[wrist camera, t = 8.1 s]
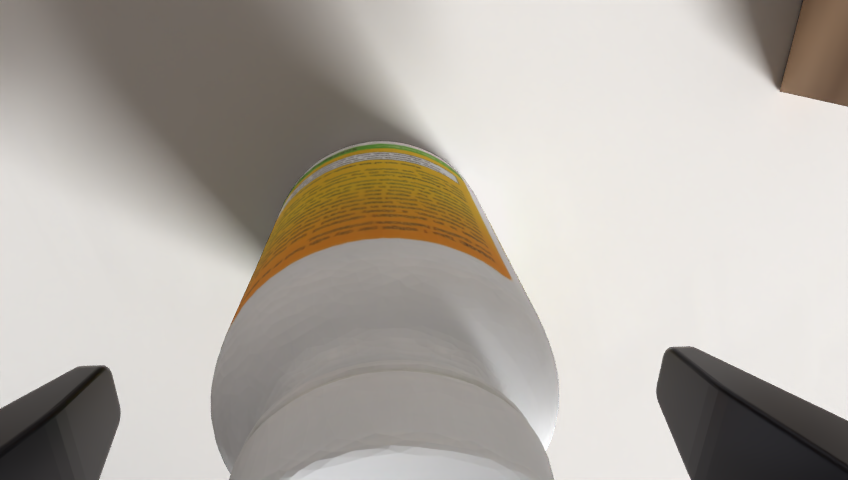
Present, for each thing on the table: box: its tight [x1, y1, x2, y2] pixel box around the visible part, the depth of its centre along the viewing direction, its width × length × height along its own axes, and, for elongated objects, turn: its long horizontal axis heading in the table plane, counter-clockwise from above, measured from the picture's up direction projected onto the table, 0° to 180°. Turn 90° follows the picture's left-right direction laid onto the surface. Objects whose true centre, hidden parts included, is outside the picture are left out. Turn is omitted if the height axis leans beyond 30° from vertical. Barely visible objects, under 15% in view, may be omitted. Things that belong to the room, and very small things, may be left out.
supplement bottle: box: [211, 141, 559, 480], centre depth 10 cm, size 5×5×10 cm
